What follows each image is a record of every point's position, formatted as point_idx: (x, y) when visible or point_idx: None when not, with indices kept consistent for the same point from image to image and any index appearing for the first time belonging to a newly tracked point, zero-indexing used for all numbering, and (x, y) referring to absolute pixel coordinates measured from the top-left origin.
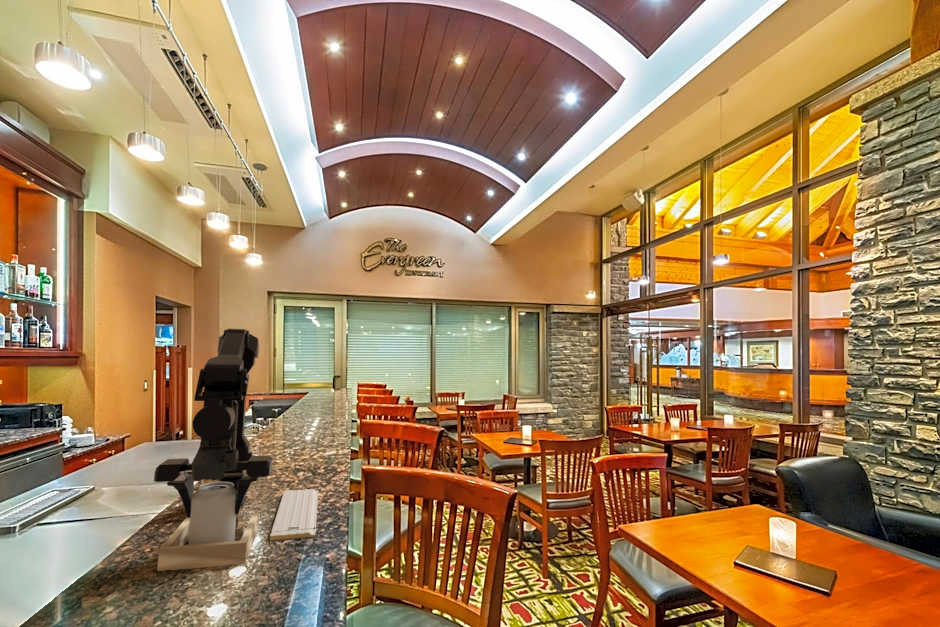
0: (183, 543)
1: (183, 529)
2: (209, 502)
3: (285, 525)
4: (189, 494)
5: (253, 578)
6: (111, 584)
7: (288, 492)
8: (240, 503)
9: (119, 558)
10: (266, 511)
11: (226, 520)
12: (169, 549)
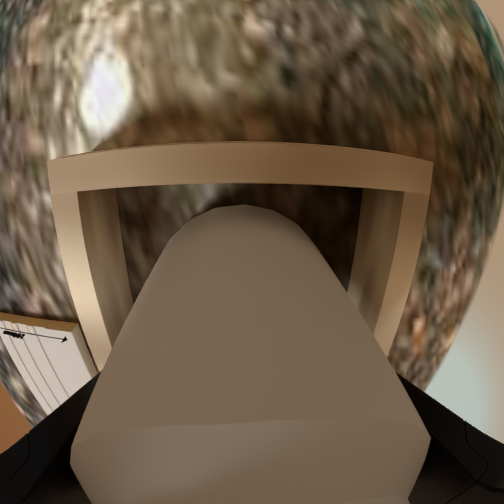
0: None
1: None
2: (266, 402)
3: (70, 385)
4: (442, 472)
5: (58, 43)
6: (467, 118)
7: None
8: (63, 409)
9: (467, 282)
10: None
11: (136, 305)
12: (398, 156)
